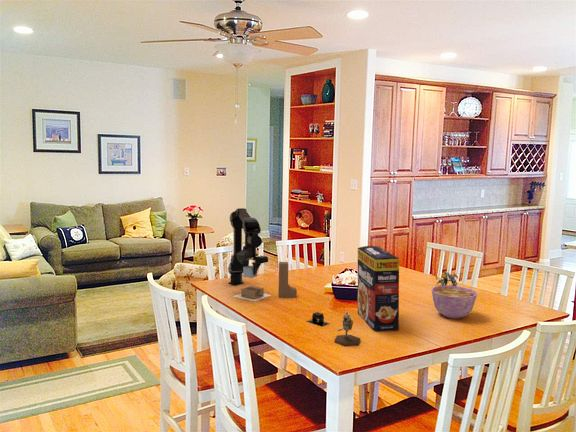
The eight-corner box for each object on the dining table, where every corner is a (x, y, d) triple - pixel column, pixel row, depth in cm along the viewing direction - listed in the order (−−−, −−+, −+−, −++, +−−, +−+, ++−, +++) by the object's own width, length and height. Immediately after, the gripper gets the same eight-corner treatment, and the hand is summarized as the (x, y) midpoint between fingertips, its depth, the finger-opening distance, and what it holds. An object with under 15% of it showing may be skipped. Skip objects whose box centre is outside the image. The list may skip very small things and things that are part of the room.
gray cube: (249, 275, 256) (249, 265, 255) (257, 276, 253) (257, 266, 252) (243, 276, 252) (243, 267, 251) (250, 278, 249) (251, 268, 248)
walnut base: (251, 293, 258) (251, 285, 258) (263, 296, 254) (263, 288, 253) (241, 296, 252) (241, 289, 251) (253, 299, 247) (253, 291, 247)
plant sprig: (453, 298, 278) (462, 284, 270) (434, 294, 277) (443, 280, 270) (450, 282, 286) (459, 269, 278) (432, 279, 286) (440, 265, 278)
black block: (334, 325, 215) (334, 315, 214) (323, 329, 210) (323, 318, 209) (312, 318, 223) (312, 308, 223) (301, 322, 218) (301, 312, 217)
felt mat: (249, 291, 264) (249, 290, 264) (271, 295, 256) (271, 295, 256) (232, 297, 252) (232, 296, 252) (254, 302, 244) (254, 301, 244)
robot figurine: (338, 335, 202) (339, 306, 200) (361, 338, 199) (362, 308, 197) (332, 344, 191) (333, 314, 190) (357, 348, 188) (358, 317, 187)
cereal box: (356, 312, 232) (356, 244, 228) (379, 311, 233) (380, 243, 229) (374, 333, 206) (374, 257, 201) (400, 331, 207) (401, 255, 203)
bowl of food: (421, 311, 234) (422, 287, 233) (454, 307, 242) (455, 284, 241) (450, 325, 216) (452, 299, 215) (485, 319, 224) (487, 294, 223)
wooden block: (295, 296, 257) (296, 261, 254) (296, 298, 252) (297, 263, 250) (278, 296, 256) (278, 261, 254) (278, 298, 251) (279, 263, 249)
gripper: (225, 244, 249) (225, 274, 251) (255, 248, 239) (254, 280, 240) (240, 241, 258) (240, 271, 260) (269, 245, 248) (268, 276, 250)
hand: (250, 274), depth 252 cm, fingers closed on gray cube, 5 cm apart
